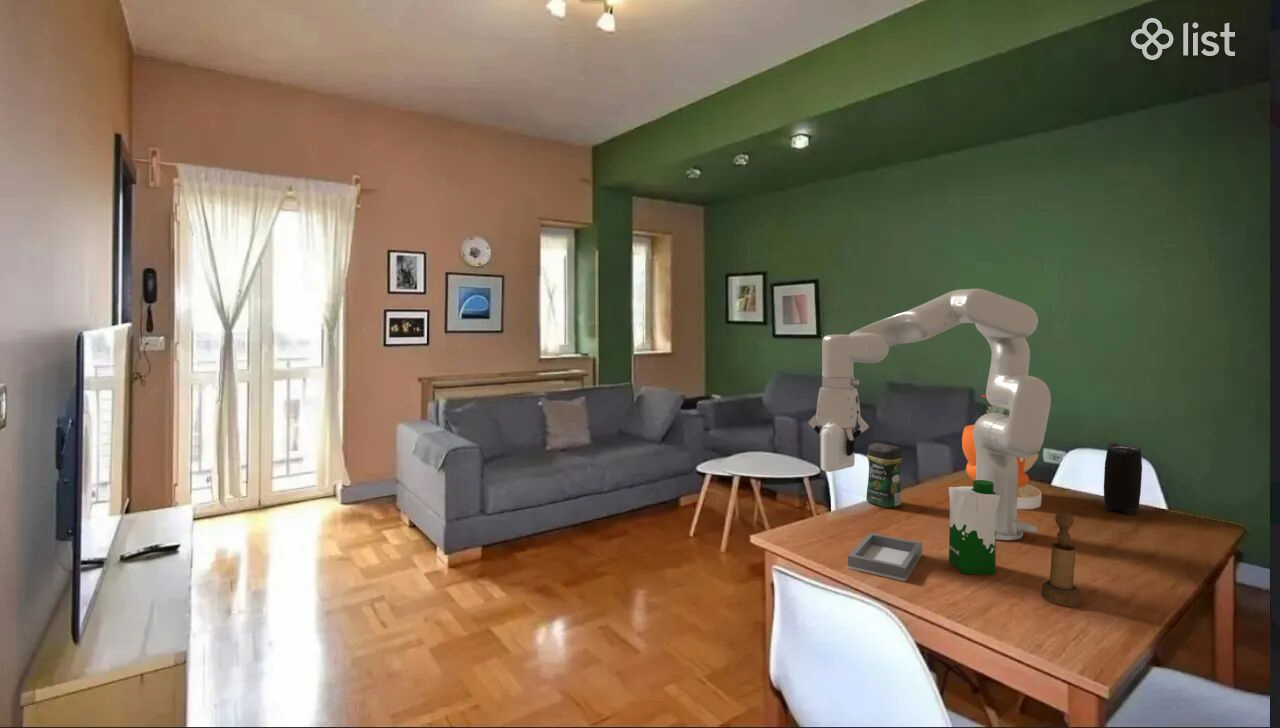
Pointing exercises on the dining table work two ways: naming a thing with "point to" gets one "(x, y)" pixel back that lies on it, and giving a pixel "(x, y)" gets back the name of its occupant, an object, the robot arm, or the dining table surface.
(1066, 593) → the mortar and pestle
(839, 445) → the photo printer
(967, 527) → the milk carton
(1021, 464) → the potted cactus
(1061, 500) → the dining table surface
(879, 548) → the tray
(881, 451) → the coffee jar
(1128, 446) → the portable speaker
